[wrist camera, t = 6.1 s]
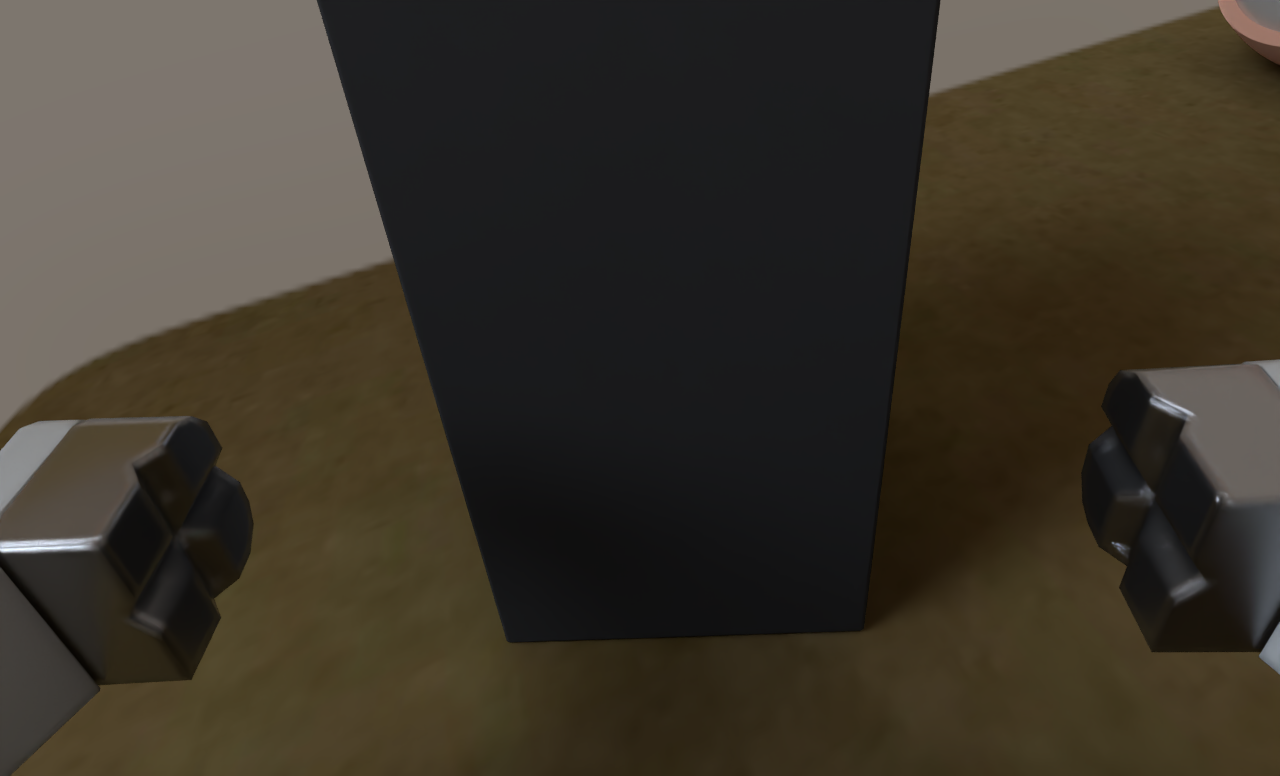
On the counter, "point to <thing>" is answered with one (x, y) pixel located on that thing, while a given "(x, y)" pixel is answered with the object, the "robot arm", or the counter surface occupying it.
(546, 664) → the counter surface
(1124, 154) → the counter surface
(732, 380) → the pad block
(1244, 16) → the eyeball with eyelids
